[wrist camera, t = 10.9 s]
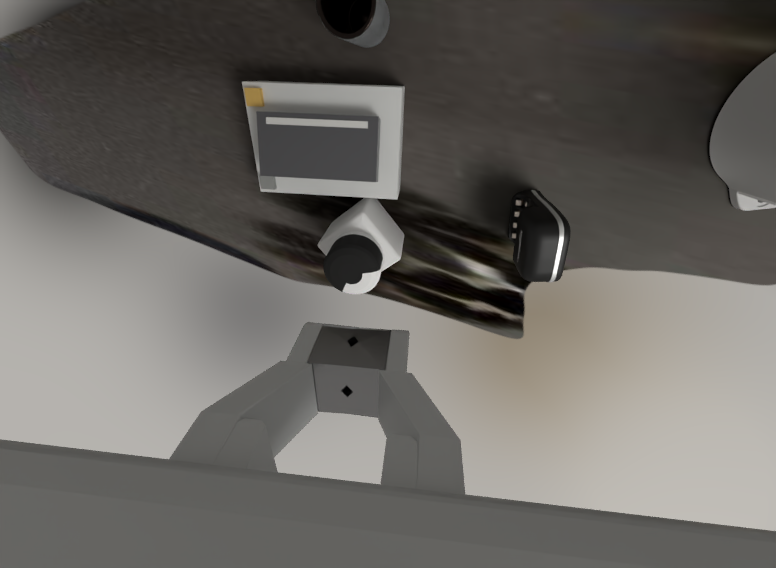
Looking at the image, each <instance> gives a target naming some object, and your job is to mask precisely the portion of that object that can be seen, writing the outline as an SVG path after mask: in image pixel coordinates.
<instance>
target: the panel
mask: <svg viewBox="0 0 776 568" xmlns="http://www.w3.org/2000/svg"><path fill="white" fill-rule="evenodd" d="M242 86H243V92H244V98H245V103H246V109H247V115H248V121H249V126H250V132H251V138H252V144H253V149H254V155H255V161H256V167H257V172H258V178H259V184H260V190H261V191H262V192H279V193H296V194H313V195H329V196H346V197H363V198H380V199H398V195H399V191H400V177H401V156H402V134H403V113H404V91H405V86H390V85H362V84H334V83H306V82H278V81H245V82H242ZM256 111H263V112H287V113H311V114H335V115H358V116H379V118H380V119H381V124H380V148H379V172H378V182H362V181H344V180H326V179H309V178H291V177H273V176H260V165H259V148H258V131H257V115H256Z"/></svg>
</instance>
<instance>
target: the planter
mask: <svg viewBox="0 0 776 568" xmlns="http://www.w3.org/2000/svg"><path fill="white" fill-rule="evenodd" d="M315 2H316V8H317V12H318V15H319V18H320V20H321V22H322V24H323V25H324V27H325V28H326V29H327V30H328V31H329V32H330V33H331V34H333V35H334V36H336V37H338V38H340V39H343V40H345V41H348V42H350V43H353V44H356V45H358V46H361V47H373V46H376V45H377V44H379V43H380V42H381V41H382V40H383V39H384V37H385V36H386V34H387V32H388V28H389V23H390V16H389V10H388V7H387V4H386V2H385V0H315Z"/></svg>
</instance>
